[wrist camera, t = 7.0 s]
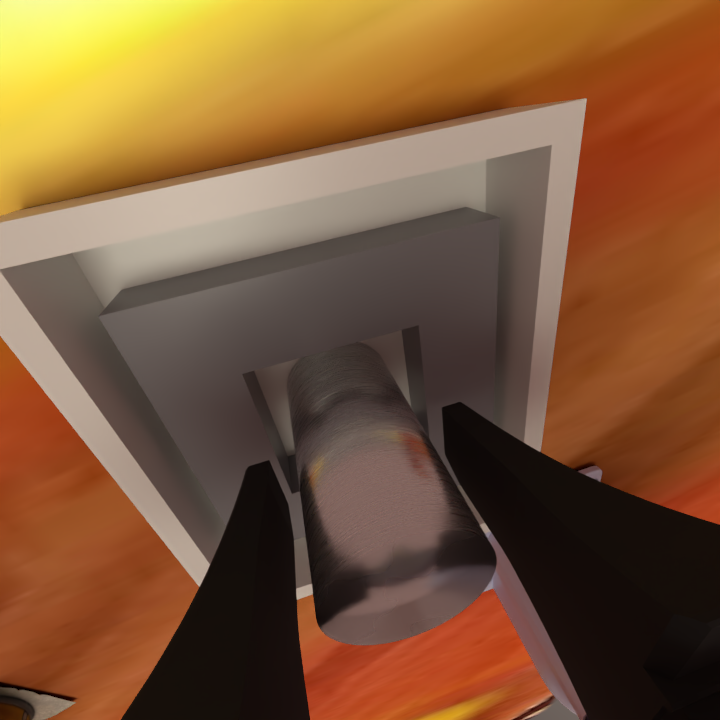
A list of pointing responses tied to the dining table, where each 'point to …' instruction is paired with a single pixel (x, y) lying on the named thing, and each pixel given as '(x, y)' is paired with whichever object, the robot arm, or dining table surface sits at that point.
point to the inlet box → (294, 302)
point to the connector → (378, 505)
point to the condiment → (29, 705)
